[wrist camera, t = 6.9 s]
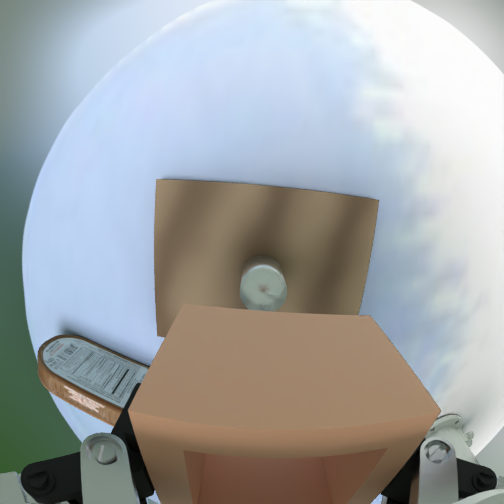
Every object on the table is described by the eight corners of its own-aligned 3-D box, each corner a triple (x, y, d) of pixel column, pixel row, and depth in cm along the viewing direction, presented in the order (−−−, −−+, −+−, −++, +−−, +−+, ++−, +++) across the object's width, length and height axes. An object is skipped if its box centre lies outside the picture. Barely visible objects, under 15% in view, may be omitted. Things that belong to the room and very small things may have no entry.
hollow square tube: (370, 315, 9) (440, 410, 4) (330, 434, 11) (352, 521, 6) (183, 303, 9) (127, 409, 4) (189, 428, 11) (168, 520, 6)
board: (372, 198, 23) (378, 199, 21) (344, 342, 26) (349, 350, 25) (162, 179, 23) (156, 179, 21) (161, 328, 26) (157, 336, 25)
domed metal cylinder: (284, 256, 23) (289, 272, 19) (279, 293, 23) (284, 315, 20) (243, 253, 23) (241, 268, 19) (240, 290, 23) (238, 312, 19)
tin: (62, 341, 27) (24, 379, 19) (62, 320, 26) (19, 357, 18) (175, 392, 28) (156, 447, 20) (180, 372, 27) (160, 429, 19)
